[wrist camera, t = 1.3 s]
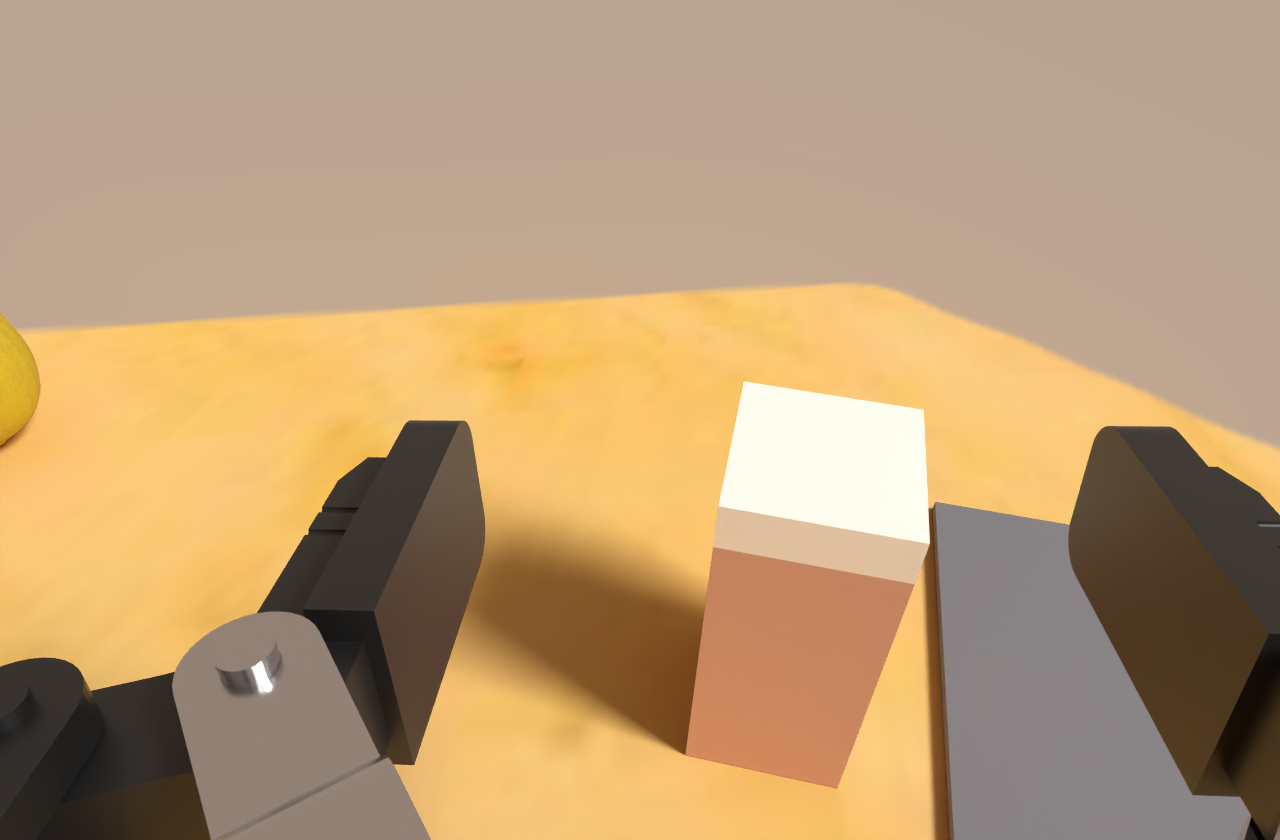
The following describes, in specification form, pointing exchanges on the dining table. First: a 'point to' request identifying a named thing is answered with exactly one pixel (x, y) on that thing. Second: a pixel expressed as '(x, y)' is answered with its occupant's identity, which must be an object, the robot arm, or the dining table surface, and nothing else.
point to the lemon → (16, 381)
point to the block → (807, 578)
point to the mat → (1046, 700)
